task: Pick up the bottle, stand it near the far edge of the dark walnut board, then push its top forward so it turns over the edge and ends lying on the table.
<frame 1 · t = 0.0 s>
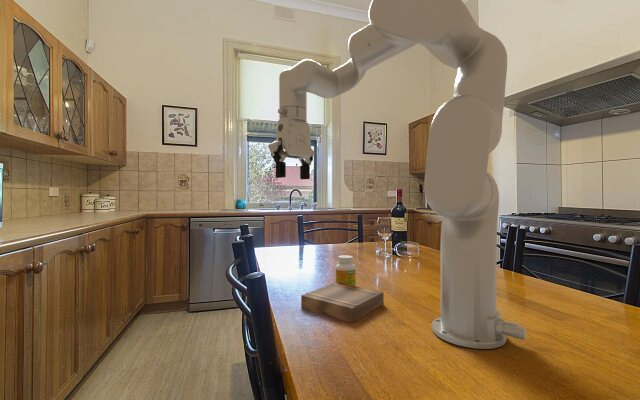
hand: (293, 178, 87), 31 cm above the table, tool pointing down, fingers open, 9 cm apart
walnut board: (343, 306, 74), on the table
supplement bottle: (345, 292, 86), on the table
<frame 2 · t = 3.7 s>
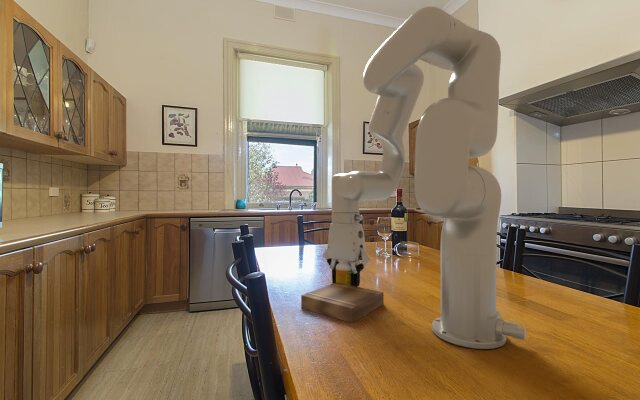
hand: (345, 284, 86), 2 cm above the table, tool pointing down, fingers closed on supplement bottle, 5 cm apart
supplement bottle: (345, 292, 86), on the table, touching gripper
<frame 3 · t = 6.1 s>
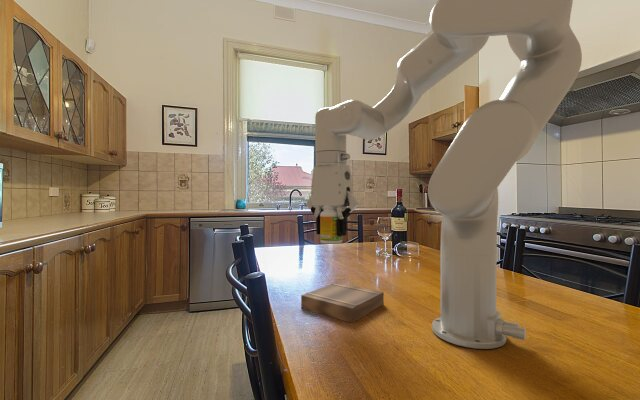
hand: (331, 234, 76), 17 cm above the table, tool pointing down, fingers closed on supplement bottle, 5 cm apart
supplement bottle: (331, 243, 76), point 15 cm above the table, touching gripper
when the fingers open (6 cm above the table, at t = 8.8 s): supplement bottle stays where it is, resting on walnut board.
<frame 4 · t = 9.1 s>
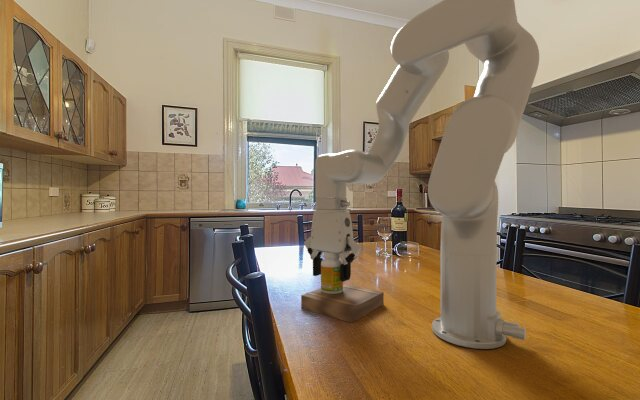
hand: (331, 277, 76), 6 cm above the table, tool pointing down, fingers open, 7 cm apart
supplement bottle: (331, 291, 76), point 3 cm above the table, touching walnut board
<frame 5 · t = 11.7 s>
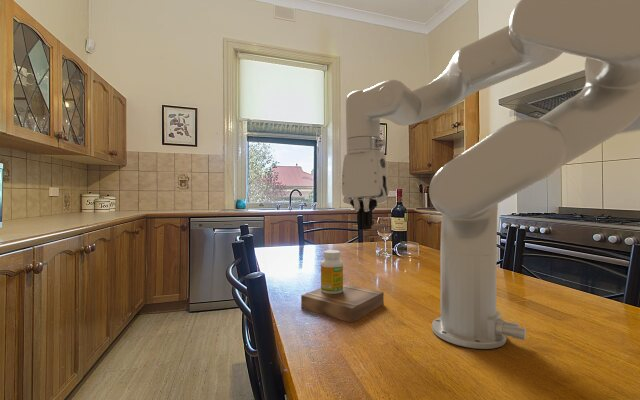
hand: (364, 229, 70), 19 cm above the table, tool pointing down, fingers closed
nothing on the table moved.
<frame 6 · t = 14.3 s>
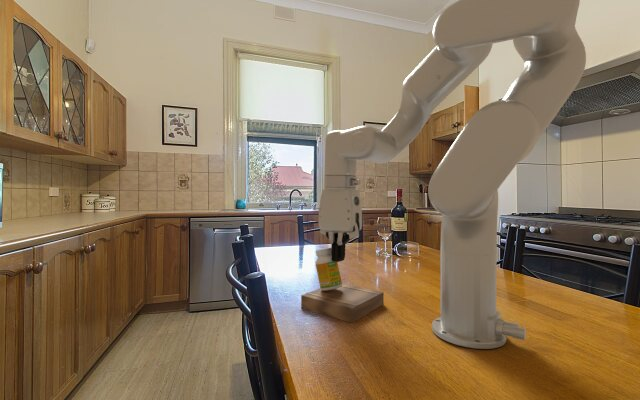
hand: (338, 260, 75), 11 cm above the table, tool pointing down, fingers closed
supplement bottle: (331, 289, 76), point 3 cm above the table, touching gripper, walnut board
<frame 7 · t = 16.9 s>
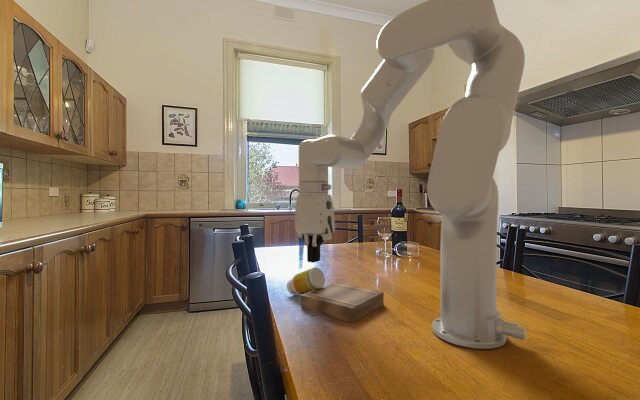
hand: (313, 261, 80), 10 cm above the table, tool pointing down, fingers closed
supplement bottle: (319, 277, 78), point 6 cm above the table, touching walnut board
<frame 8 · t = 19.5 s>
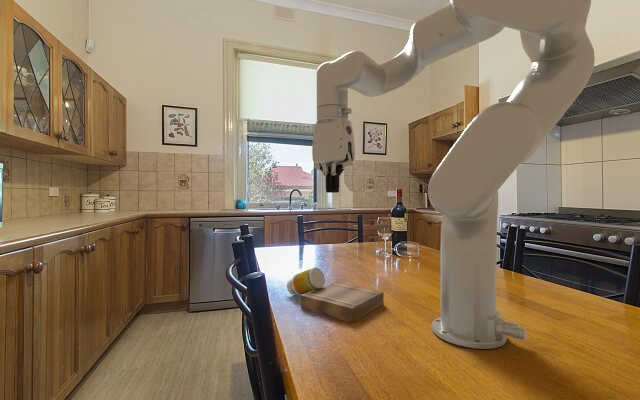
hand: (332, 192, 76), 27 cm above the table, tool pointing down, fingers closed
nothing on the table moved.
at the end: supplement bottle tilted 114°; supplement bottle inside the target area (6.9 cm from its centre), point 5.9 cm above the table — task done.
